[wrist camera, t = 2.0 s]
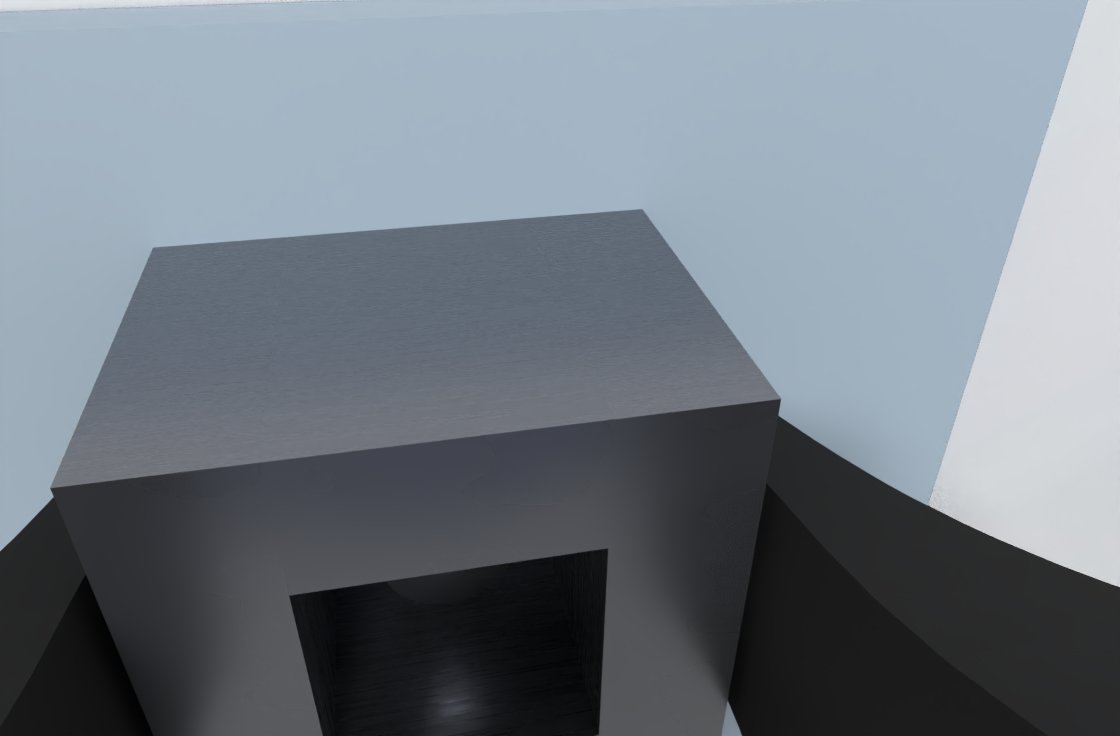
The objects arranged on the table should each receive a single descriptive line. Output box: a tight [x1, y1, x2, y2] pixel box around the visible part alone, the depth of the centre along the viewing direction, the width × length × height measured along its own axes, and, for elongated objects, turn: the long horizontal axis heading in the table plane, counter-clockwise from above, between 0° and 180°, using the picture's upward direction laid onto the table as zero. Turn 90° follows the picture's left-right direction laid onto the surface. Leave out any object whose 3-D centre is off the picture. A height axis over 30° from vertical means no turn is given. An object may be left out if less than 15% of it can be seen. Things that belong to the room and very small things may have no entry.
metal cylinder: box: [386, 563, 509, 604], centre depth 10 cm, size 1×1×2 cm
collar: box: [50, 209, 781, 736], centre depth 10 cm, size 6×6×4 cm
